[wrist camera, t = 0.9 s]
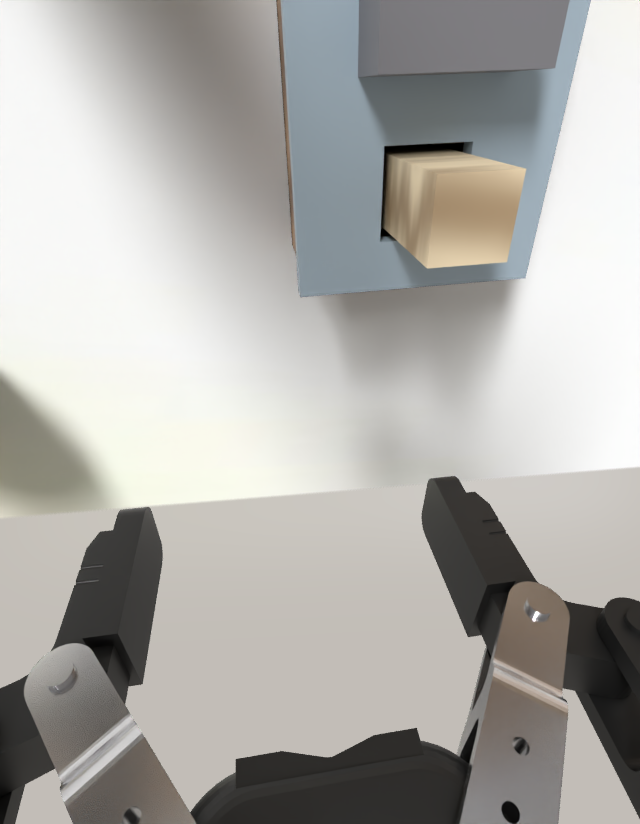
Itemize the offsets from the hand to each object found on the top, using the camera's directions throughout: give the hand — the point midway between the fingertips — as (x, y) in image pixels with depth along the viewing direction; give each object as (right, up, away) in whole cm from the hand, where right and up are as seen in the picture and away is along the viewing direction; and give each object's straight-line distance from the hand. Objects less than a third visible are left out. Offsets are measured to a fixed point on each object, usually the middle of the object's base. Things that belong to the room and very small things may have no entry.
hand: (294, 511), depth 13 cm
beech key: (+5, +21, +20) cm, 29 cm away
